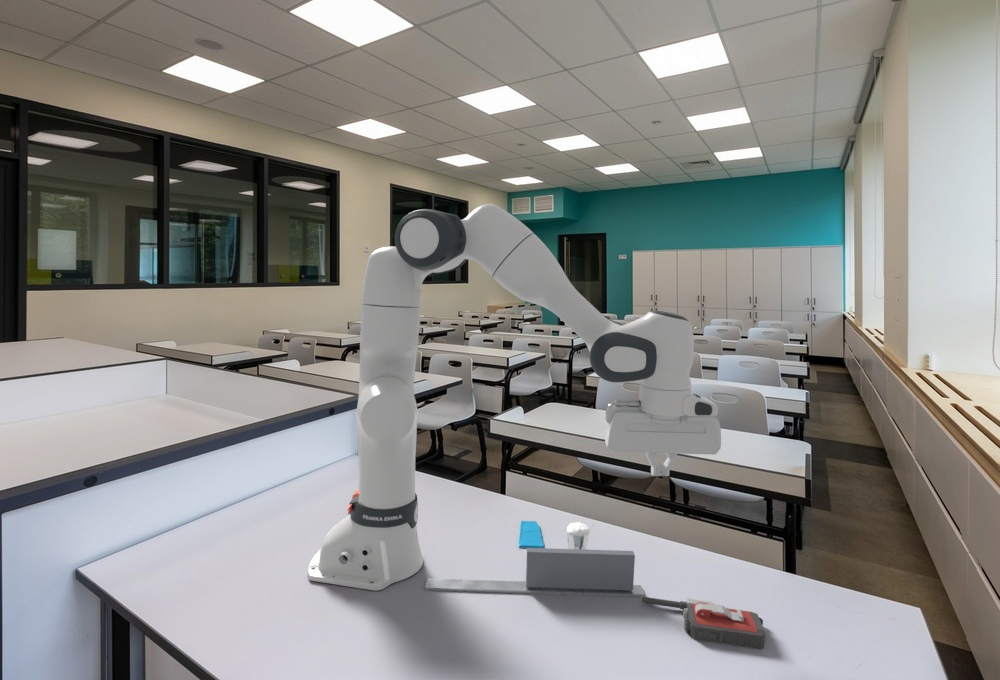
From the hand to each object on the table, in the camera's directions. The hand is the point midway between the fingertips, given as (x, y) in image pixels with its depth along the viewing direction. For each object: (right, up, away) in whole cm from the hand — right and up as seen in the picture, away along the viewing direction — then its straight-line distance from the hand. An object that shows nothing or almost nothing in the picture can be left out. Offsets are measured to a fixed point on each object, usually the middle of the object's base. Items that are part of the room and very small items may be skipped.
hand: (659, 475), depth 96 cm
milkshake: (-13, -22, +11) cm, 28 cm away
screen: (-14, -23, +3) cm, 27 cm away
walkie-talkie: (+5, -25, -6) cm, 26 cm away
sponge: (-22, -21, +24) cm, 39 cm away
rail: (-23, -22, +3) cm, 32 cm away
